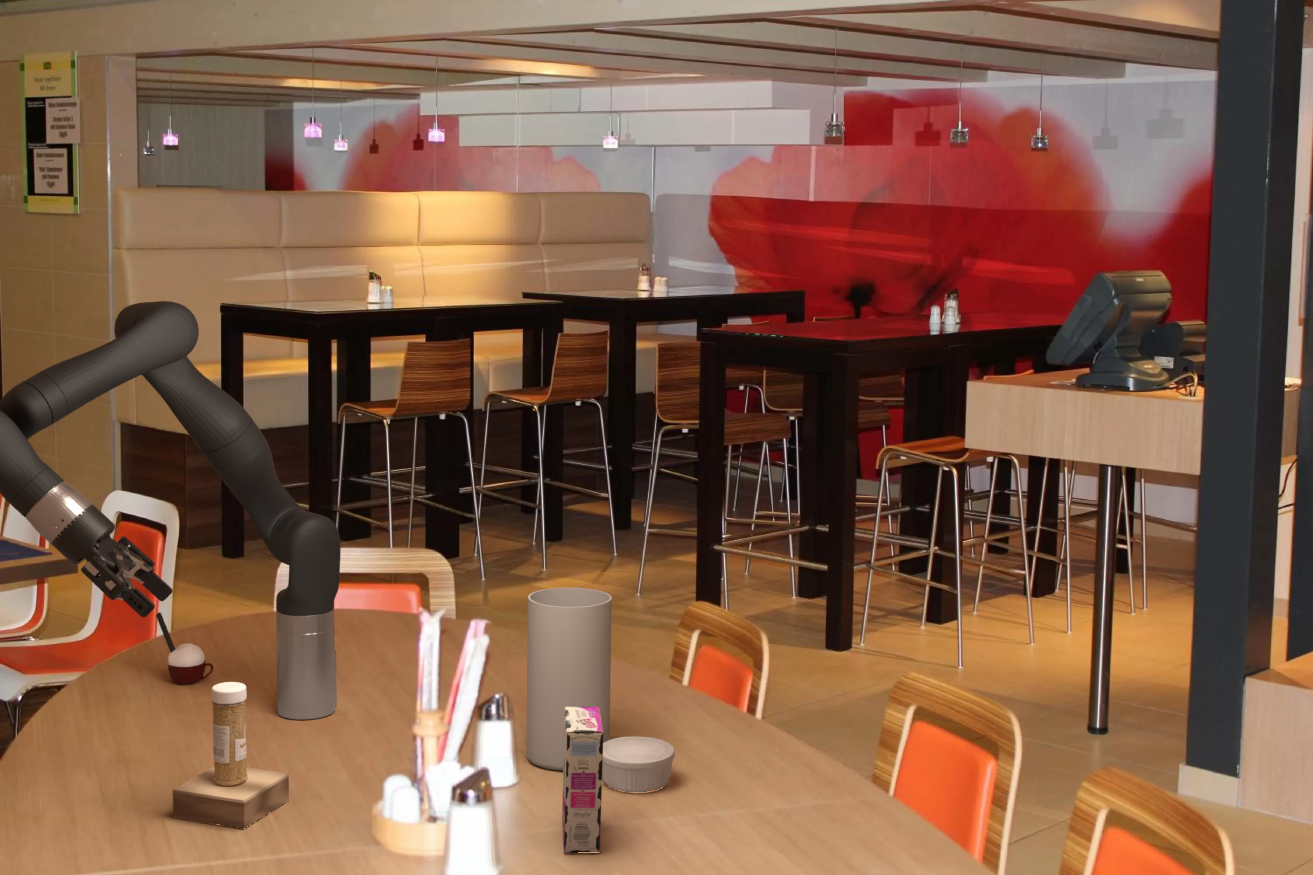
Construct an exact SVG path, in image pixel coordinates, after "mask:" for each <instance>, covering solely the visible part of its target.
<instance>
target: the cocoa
mask: <svg viewBox="0 0 1313 875" xmlns="http://www.w3.org/2000/svg"><path fill="white" fill-rule="evenodd" d="M155 618H156V619H157V622H158V624H159V627H160V630H161V632H162V634H163V637H164V639H165V642H166V644H167V647H168V649H169V653H168V656H167V669H168V674H169V677H170V679H171V680H172V681H173V683H175V684H177V685H180V686H190V685H194V684H197V683H198V682H199V681H202V680H204V679H206V678H207V677H209V676H210V675H212V673H213V671H214V664H212V663H211V662H207V663H206V659H205V658H206V657H205V653H204V651H203V649H201V647H200V646H199V645H195V644H194V643H190V642H188V643H187V642H186V643H181V644H179V645H178V646H177V647H175V645H174V642H173V641H172V638H171V637H172V636H171V635H170V632H169V629H168V627H167V625H166V622H165V620H164V618H163V615H162V612H160V611H159V612H158V613H156V615H155ZM206 667H210V671H209V672H208V673H207V674H205V671H206ZM204 674H205V675H204Z"/></svg>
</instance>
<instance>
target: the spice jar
mask: <svg viewBox="0 0 1313 875" xmlns="http://www.w3.org/2000/svg"><path fill="white" fill-rule="evenodd" d="M247 697H248V695H247V686H246V684H244V683H242V682H237V681H224V682H220V683H217V684H214V685H213V686H212V687H211V701H212V702H211V703H212V705H213V706H212V715H213V716H212V718H213V719H212V720H213V721H212V739H213V740H212V747H213V749H212V750H213V751H212V752H213V763H214V764H213V767H214V770H215V772H214V782H215V783H216V784H218V785H222V786H235V785H239V784H241V783H243V782H245V781H246V780H247V778H248V776H247V772H246V767H247V757H248V756H247V724H246V701H247V700H246V699H247Z"/></svg>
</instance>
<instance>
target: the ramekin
mask: <svg viewBox="0 0 1313 875" xmlns="http://www.w3.org/2000/svg"><path fill="white" fill-rule="evenodd" d="M675 756H676V751H675V747H674V746H673V745H672V744H671V743H669V742H668V741H665V740H663V739H659V738H657V737H650V736H649V737H647V736H621V737H620V736H619V737H617V738H611V739H609V741H606V742H604V743H603V768H602V781H603V783H604V784H605V785H606V786H607V785H608V786H609V787H611V788H613V789H616V790H621V791H625V792H647V791H652V790H657V789H660V788H661V787H664V786H665V785H666V786H667V785H668V783H669V781H670V778H671V774H672V767H673V762H674V758H675ZM608 786H607V787H608ZM666 786H665V787H666ZM609 787H608V788H609ZM665 787H664V788H665ZM611 788H610V789H611ZM613 789H612V790H613Z"/></svg>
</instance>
